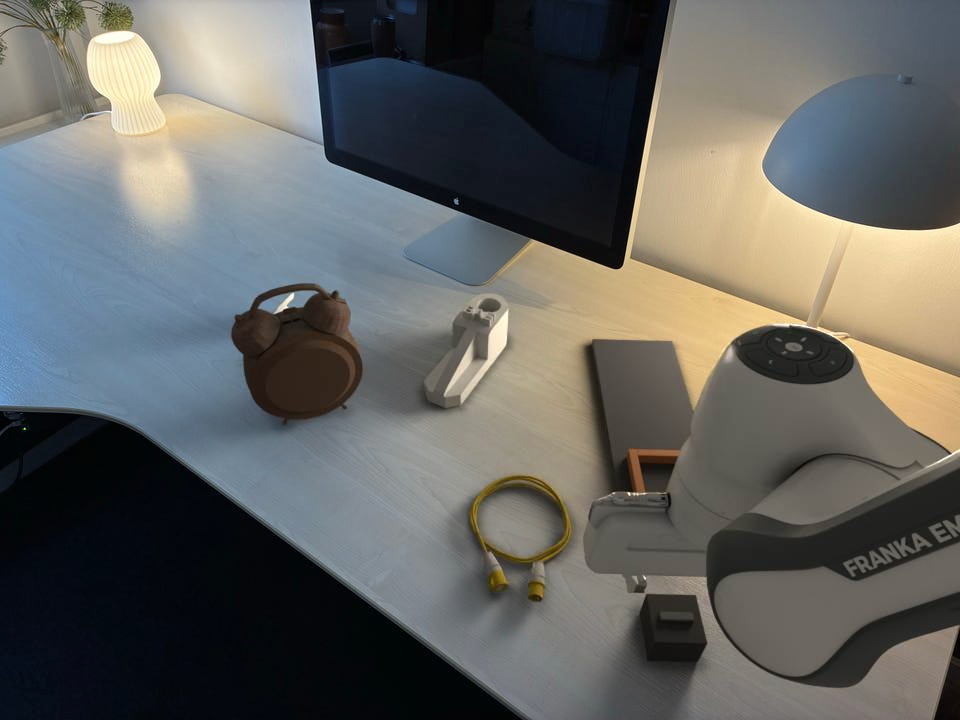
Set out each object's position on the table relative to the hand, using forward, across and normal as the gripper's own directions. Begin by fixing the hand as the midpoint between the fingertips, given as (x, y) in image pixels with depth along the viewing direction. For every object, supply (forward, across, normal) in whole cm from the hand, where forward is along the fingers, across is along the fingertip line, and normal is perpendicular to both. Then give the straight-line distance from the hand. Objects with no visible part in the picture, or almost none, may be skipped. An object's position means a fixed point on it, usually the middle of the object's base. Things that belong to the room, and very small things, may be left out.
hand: (684, 587), depth 63 cm
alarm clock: (+10, -42, +30) cm, 53 cm away
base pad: (+9, +3, +29) cm, 31 cm away
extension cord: (+10, -15, +11) cm, 21 cm away
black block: (+9, 0, 0) cm, 9 cm away
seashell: (+10, -50, +47) cm, 69 cm away
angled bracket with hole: (+10, -21, +40) cm, 46 cm away
